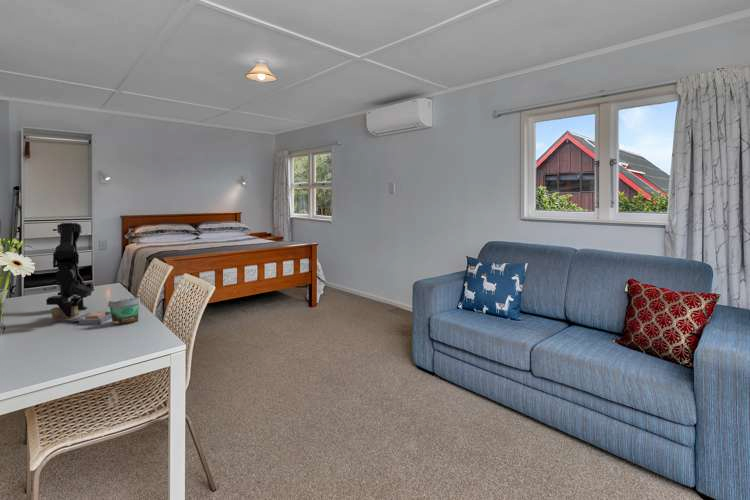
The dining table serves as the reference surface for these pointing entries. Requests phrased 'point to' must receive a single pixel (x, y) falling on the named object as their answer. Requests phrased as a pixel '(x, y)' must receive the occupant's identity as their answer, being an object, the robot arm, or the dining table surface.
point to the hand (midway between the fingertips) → (71, 316)
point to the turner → (60, 315)
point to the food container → (124, 311)
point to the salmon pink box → (95, 315)
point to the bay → (96, 320)
